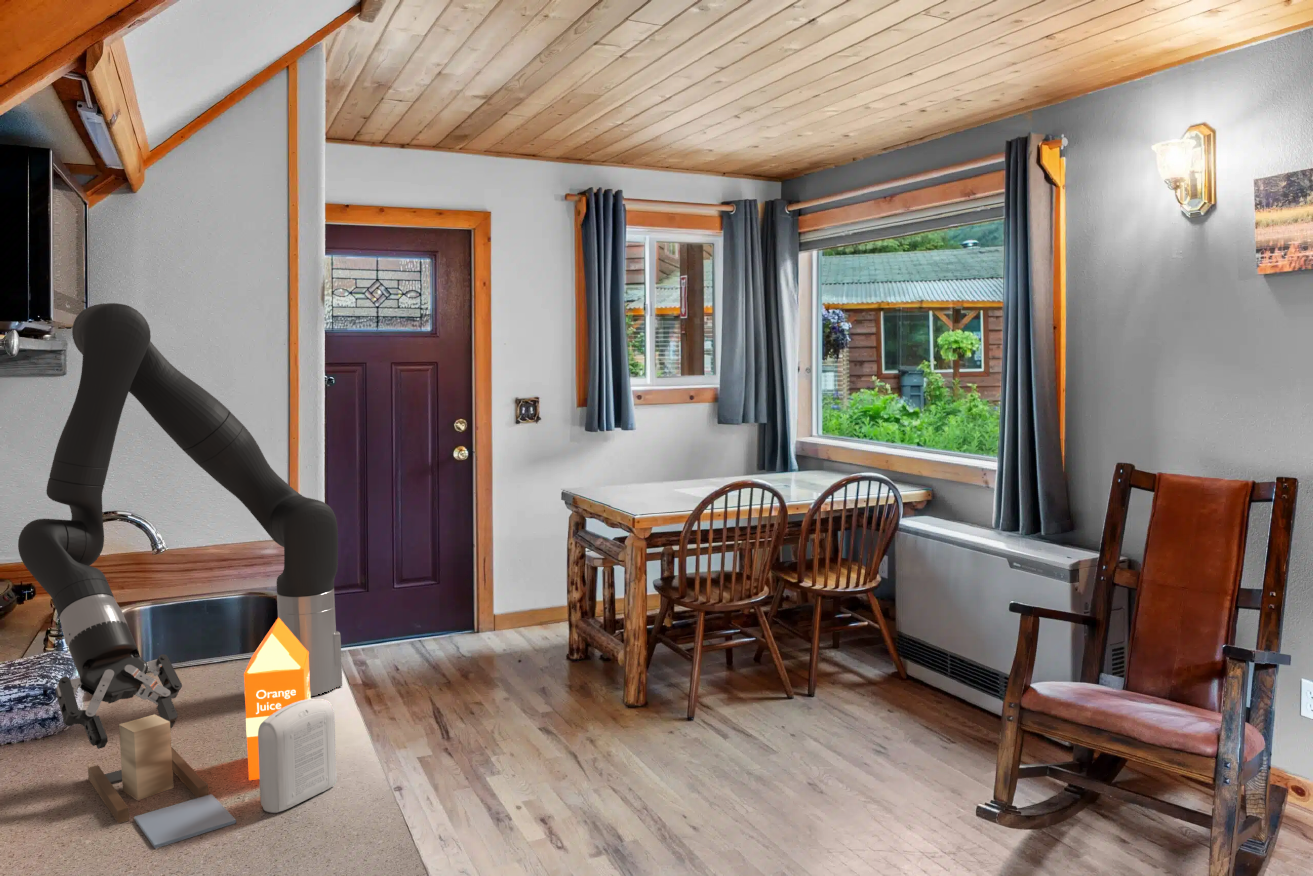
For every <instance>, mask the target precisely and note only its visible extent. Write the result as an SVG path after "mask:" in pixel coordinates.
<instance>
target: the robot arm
mask: <svg viewBox="0 0 1313 876" xmlns="http://www.w3.org/2000/svg"><path fill="white" fill-rule="evenodd" d="M71 328H72V329H71V334H72V340H73V342H74V345H75V347H76V348H77V350H78V351H79V353H80V354H82V364H81V365H82V366H81V373H80V379H79V380H80V381H79V384H78V385H79V386H78V389H77V393H76V396H75V399H74V402H73V404H72V408H71V409H70V410H71V411H70V413H69V416H68V417H67V419H66V422H65V424H64V426H63V429H62V431H61V434H60V436H59V439H58V443H57V444H56V448H55V451H54V456H53V460H52V463H51V464H52V465H51V468H50V473H49V476H48V479H47V485H46V491H45V492H46V495H47V497H48V498H49V499H50V500H52V501H53V502H56V503H59V504H62V505H66V506H69V510H70V514H71V518H70V519H57V518H38V519H34V520H32V521H30V522H29V523H27V524H26V525H25V526H24V527H23V528H22V530H21V531H20V534H19V536H18V542H17V546H18V547H17V549H18V553H19V556H20V559H21V561H22V564H23V565H24V566H25V568H26V569H27V571H28V572H29V573H30V574H31V576H32V577H33V578H34V579H35V580H36V581H37V582H38V584H40V586H41V587H42V589H44V590H45V592H46V593H47V594H48V595H49V596H50V597H51V599H52V602H53V605H54V608H55V610H56V613H57V616H58V618H59V620H60V626H61V630H62V634H63V638H64V642H65V645H66V646H67V648H68V650H69V653H70V656H71V658H72V661H73V663H74V666H75V669H76V671H77V674H78V675H79V677H77V678H71V679H70V677H67V676H62V677H61V678H60V679H59V680H58V683H57V686H56V687H55V696H56V698H57V702H58V706H59V709H60V713H61V717H62V720H63V724H64V725H65V726H67V727H71V726H73V725H80V726H83V728H84V729H85V733H86V735H87V739H88V740H89V741H88V742H89V743H90V744H91V746H92V747H94V746H96V748H97V750H100V749H103V748H105V747H106V746H107V744H108V739H109V738H108V736H107V733H106V731H105V728H104V725H103V723H102V720H101V718H100V715H96V714H97V712H98V710H99V707H100V705H101V703H102V702H104V703H108V704H113V703H116V702H118V701H120V700H128V699H131V698H133V697H134V696H136V697H137V698H140V699H141V700H144V701H145V700H148V701H149V702H152V703H153V704H155V705H157V706H156V710H157V712H158V714H159V715H158V716H159V717H161V718H163V719H165V720H167V721H169V722H170V729H172V728H173V727H174V725H175V723H176V721H177V719H178V712H177V709H176V708H175V705H174V703H173V700H174V699H176V698H177V696H178V695H179V692H180V691H181V690H182V687H183V684H182V682H181V680H180V678H179V676H178V674H177V673H176V670H175V668H174V666H173V665H172V662H171V661H170V658H169V657H168V655H167V654H160V655H159V656H158V657H157V659H153V660H149V661H146V660H144V659H143V658H142V657H141V655H140V652H139V649H138V647H137V643H136V642H135V639H134V636H133V634H132V632H131V628H130V627H129V625H128V622H127V620H126V618H125V615H124V613H123V610H122V609H121V607H120V606H119V604H118V603H117V601H116V599H115V597H114V594H113V591H112V589H111V587H110V583H109V581H108V580H107V577H106V575H105V574H104V572H103V571H102V570H100V569H99V568H97V567H94V566H91V565H93V564H94V563H95V562H96V561H97V560H98V559H99V557H100V555H101V553H102V551H103V549H104V543H105V532H104V530H105V529H104V517H103V491H104V488H105V487H104V486H105V484H106V479H107V475H108V471H109V468H110V467H109V466H110V461H111V459H112V453H113V449H114V448H113V447H114V445H115V439H116V436H117V431H118V427H119V423H120V420H121V417H122V413H123V409H124V406H125V403H126V400H127V397H128V394H129V393H130V394H131V395H132V396H133V397H134V398H135V399H136V400H137V401H138V403H140V404H141V406H142V407H143V408H144V409H145V410H146V411H147V413H148V414H149V415H150V416H151V418H152V419H153V420H154V421H155V422H156V423H157V424H158V425H159V426H160V428H161V429H162V430H163V431H164V432H165V433H166V434H167V435H168V436H169V437H170V438H171V439H172V441H174V442H175V444H176V445H177V447H179V448H180V449H181V450H182V451H183V452H184V453H185V454H187V456H188V457H190V459H191V460H193V462H195V464H197V465H198V466H199V467H200V468H202V470H204V471H205V473H207V474H208V475H209V476H211V478H212V479H214V481H216V482H217V483H218V484H220V486H221V487H223V488H224V489H226V490H227V491H228V492H229V493H230V494H232V495H233V496H234V497H236V498H237V499H238V500H239V501H240V503H242V504H243V505H244V506H245V508H246V509H247V510H248V511H249V512H250V513H251V515H252V517H254V518H255V519H256V521H257V522H258V523H259V524H260V526H261V527H262V528H263V530H265V532H266V533H267V534H268V535H269V537H270V538H271V539H272V540H273V541H274V542H275V543H276V544H277V545H278V546H281V547H282V548H283V554H284V555H283V556H284V559H283V560H284V561H283V562H284V563H283V571H282V573H280V574H279V575H278V576H277V578H276V599H277V600H276V602H277V603H276V605H277V618H278V617H279V618H280V619H281V621H282V622H283V623H284V624H285V625H286V627H287V628H288V629H289V630H290V631H291V632H292V634H293V635H294V636H295V637H296V638H297V639H298V641H299V642H300V643H301V644H302V645H303V646H304V648H305V649H306V650H307V651H308V652H309V675H310V676H309V679H310V697H313V696H319V695H318V694H320V695H323V694H322V693H324V692H327V691H329V692H331V691H330V690H332V689H333V690H335V689H337V688H339V686H340V687H343V667H342V642H341V641H342V639H341V632H340V631H339V630H337V626H336V607H335V606H336V603H335V601H336V600H335V578H336V575H337V572H338V567H339V531H338V529H339V528H338V527H339V526H338V520H337V517H336V514H335V512H334V510H333V509H332V508H331V506H329V504H327V503H325V502H324V501H321V500H319V499H315V498H311V497H306V496H304V495H302V494H301V493H299V492H298V491H297V490H295V489H294V488H293V487H292V486H290V485H289V484H288V483H287V482H286V481H285V480H284V479H282V477H281V476H279V475H278V474H277V473H276V471H275V470H274V469H273V468H272V467H271V465H270V464H269V463H268V461H267V460H266V459H267V458H266V457H265V456H264V453H263V452H262V450H261V448H260V446H259V443H258V442H257V441H256V440H255V438H254V436H253V435H252V434H251V432H250V431H249V430H248V429H247V427H245V425H244V424H243V423H242V422H241V421H240V420H239V419H238V418H237V417H236V416H235V415H234V414H233V413H232V412H231V411H230V410H229V408H227V407H226V406H225V405H224V404H223V403H222V402H221V401H220V400H219V399H217V398H216V397H215V396H213V395H212V394H211V393H210V392H208V391H207V390H206V389H204V388H203V387H202V386H200V385H199V384H198V383H196V382H195V381H194V380H192V379H190V378H189V377H188V376H186V375H185V374H184V373H182V372H181V371H180V370H178V369H177V368H176V367H175V366H173V364H171V363H170V362H169V360H167V358H165V357H164V355H163V354H162V353H161V352H160V350H159V349H158V348H157V347H156V346H155V344H154V343H153V342H152V341H151V328H150V325H149V323H148V321H147V319H146V318H145V317H144V316H143V314H142V313H141V312H139V311H138V310H137V309H136V308H134V307H132V306H130V305H128V304H127V305H126V304H123V303H113V302H111V303H98V304H93V305H91V306H88V307H86V308H84V309H82V310H81V311H80V312H79V313H78V314H77V316H76V317H75V319H74V320H73V325H72V327H71ZM147 672H151V673H152V674H153V676H154V677H158V679H159V681H160V683H161V684H159V683H158V681H157V679H155V678H153V677H151V676H150V675H148V674H147ZM142 685H143V686H144V687H143V686H142ZM336 687H337V688H336ZM79 688H80V689H81V690H82V691H84V692H85V693H87V694H89V695H91V696H92V697H91V700H90V701H89V703H88V705H87V708H86V709H79V706H78V702H77V699H76V694H77V691H78V689H79ZM334 688H335V689H334ZM333 690H332V691H333ZM327 693H328V692H327ZM324 694H325V693H324ZM172 699H173V700H172Z"/></svg>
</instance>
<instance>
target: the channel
mask: <svg viewBox="0 0 1313 876" xmlns="http://www.w3.org/2000/svg"><path fill="white" fill-rule="evenodd" d="M171 750H172V768H173V774H175V775H176V776H177V778H179V779H180V781H181V782H182V783H183V784H184V785H185V786H186V787H187V789H188V790H189V791H190V792H191V793H192V794H193V795H194V797H195V798H200V797H203V796H206V795H210V794H209V793H210V792H209V785H208V783H207V782H206V781H205V780H204V779H203V778H202V777H201V776H200V775H199V774H198V773H197V772H196V771H195V769H193V768H192V766H191V765H190V764H189V763H188V762H187V761H186V760H185V759H184V758H183V757H182V756H181V755H180V754H179V753H178V752H177V751H176V749H175V748H174V747H173V746H171ZM87 773H88V774H87V776H88V780H89V782H90V784H91V785H92V786H93V788H94V789H95V791H96V792H97V794H98V795H99V798H101V800H102V802H103V803H104V804H105V806H106V807H107V809H108V810H109V811H110V813H111V815H112V817H113V818H114V820H115V821H116V822H117V824H123V823H124V822H128V821H130V811H129V810H130V809H129V808H130V807H129V806H128V804H127V803H126V802H125V801H124V799H123V798H122V797H121V795H120V794H119V792H118V791H117V789H116V788H115V787H114V785H113V784H111V783H110V781H109V780H108V778H107V777H106V776H105V774H106V773H104V771H103V770H102V768H101V767H100V766H99V765H98V764H97V765H94V766H89V767H87Z"/></svg>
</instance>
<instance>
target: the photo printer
mask: <svg viewBox="0 0 1313 876" xmlns="http://www.w3.org/2000/svg"><path fill="white" fill-rule="evenodd" d="M335 721H336V719H335V710H334V707H333V705H332V704H331V702H330V701H329V700H327V699H322V698H311V699H306V700H301V701H298V702H295V703H292V704H290V705H288V706H285V707H283V708H282V709H280V710H278V711H276V712H275V713H273V714H272V715H270V716H269V717H268V718H267V719H265V720H264V721H263V722H262V723H261V724H260V726H259V729H258V752H259V779H258V780H259V799H260V805H261V807H262V810H263V811H264V812H266V813H272V814H276V813H280V812H283V811H285V810H288V809H290V808H292V807H294V806H296V805H298V804H300V803H302V802H304V801H307V800H308V799H311V798H312V797H315V796H317V795H319V794H321V793H323V792H325V791H327V790H329V789H330V788H332V787H334V786H335V785H336V783H337V756H336V755H337V753H336V751H337V750H336V722H335Z"/></svg>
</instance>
